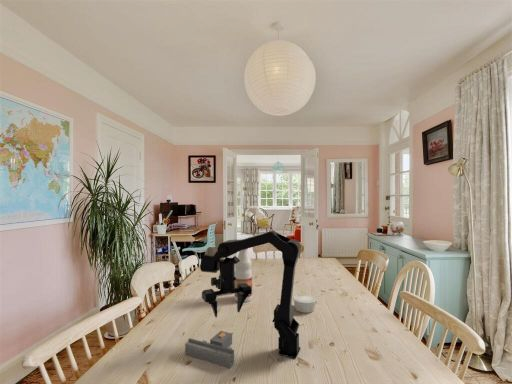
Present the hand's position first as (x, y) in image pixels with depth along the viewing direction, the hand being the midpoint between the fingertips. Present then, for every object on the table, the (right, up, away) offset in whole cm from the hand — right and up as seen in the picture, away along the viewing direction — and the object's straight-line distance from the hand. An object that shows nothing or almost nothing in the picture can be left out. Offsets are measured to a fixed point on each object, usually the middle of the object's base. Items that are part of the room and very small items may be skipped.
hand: (227, 314), depth 102 cm
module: (-2, -10, -4) cm, 11 cm away
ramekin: (+35, -10, +28) cm, 46 cm away
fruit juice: (+4, -11, +40) cm, 41 cm away
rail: (-4, -10, -10) cm, 15 cm away
